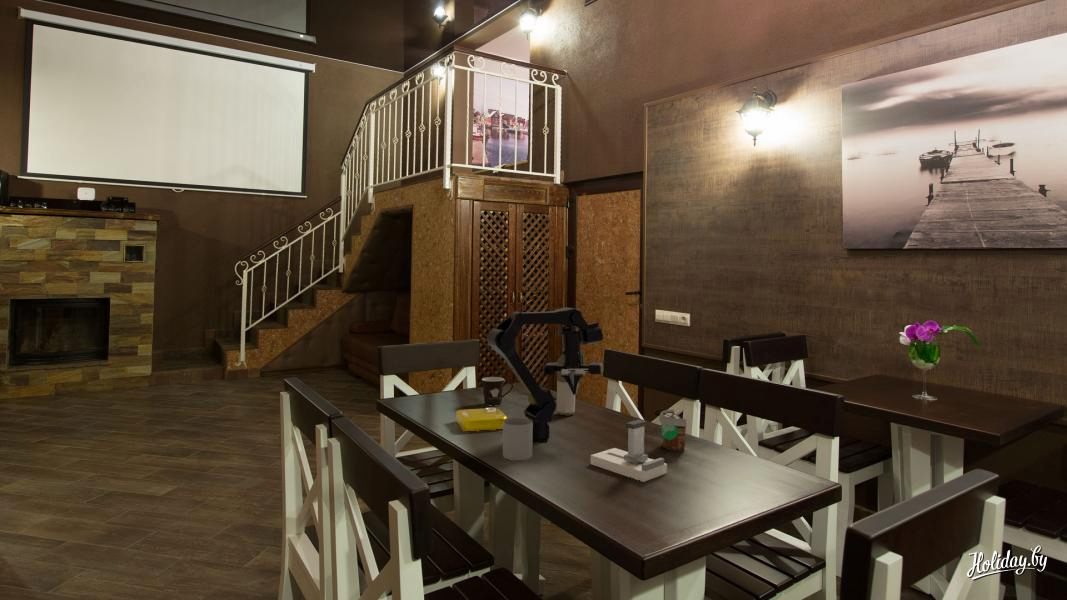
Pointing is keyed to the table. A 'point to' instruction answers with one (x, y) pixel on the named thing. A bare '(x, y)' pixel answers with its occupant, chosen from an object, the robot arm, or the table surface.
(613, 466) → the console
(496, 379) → the coffee mug
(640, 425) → the fader
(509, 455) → the cup
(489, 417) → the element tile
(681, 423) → the food container
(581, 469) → the table surface
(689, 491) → the table surface
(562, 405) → the bottle
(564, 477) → the table surface
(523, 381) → the robot arm
